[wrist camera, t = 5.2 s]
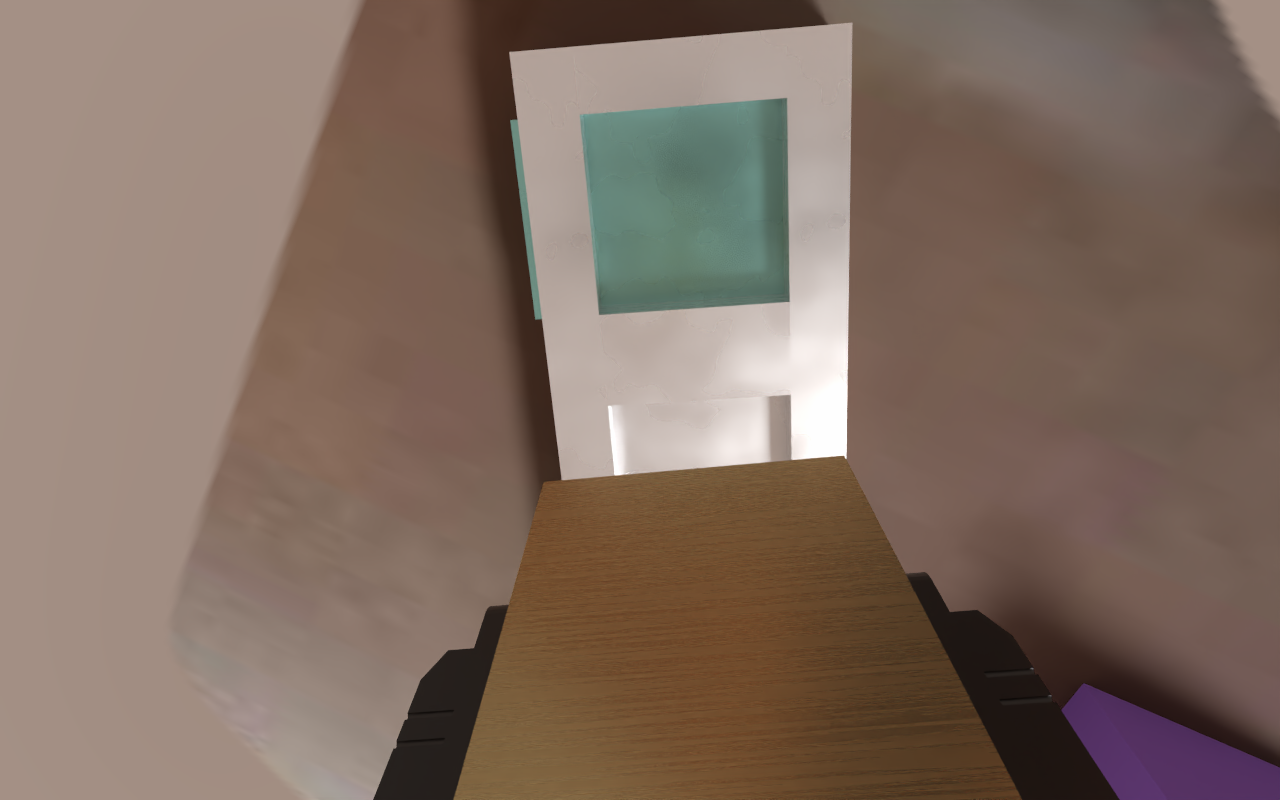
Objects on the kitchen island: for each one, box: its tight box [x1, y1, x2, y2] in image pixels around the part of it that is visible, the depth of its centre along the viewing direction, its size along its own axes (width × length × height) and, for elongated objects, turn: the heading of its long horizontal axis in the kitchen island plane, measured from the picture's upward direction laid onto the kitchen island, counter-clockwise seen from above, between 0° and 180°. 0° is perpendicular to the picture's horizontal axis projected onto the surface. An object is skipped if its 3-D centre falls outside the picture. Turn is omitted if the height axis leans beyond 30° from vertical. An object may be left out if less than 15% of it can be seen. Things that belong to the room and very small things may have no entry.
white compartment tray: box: [509, 23, 852, 480], centre depth 27 cm, size 9×26×3 cm, turn 4°
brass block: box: [454, 455, 1022, 800], centre depth 8 cm, size 4×4×7 cm
